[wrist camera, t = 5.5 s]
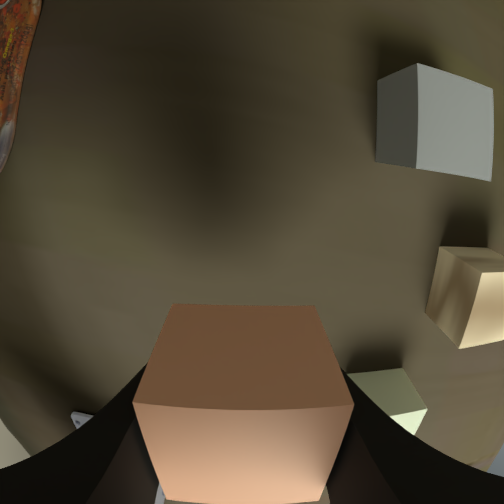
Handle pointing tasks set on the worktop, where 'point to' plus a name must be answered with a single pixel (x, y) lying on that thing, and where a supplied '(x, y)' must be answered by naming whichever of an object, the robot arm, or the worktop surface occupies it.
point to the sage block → (393, 396)
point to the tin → (14, 63)
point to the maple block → (468, 295)
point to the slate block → (435, 122)
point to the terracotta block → (243, 404)
